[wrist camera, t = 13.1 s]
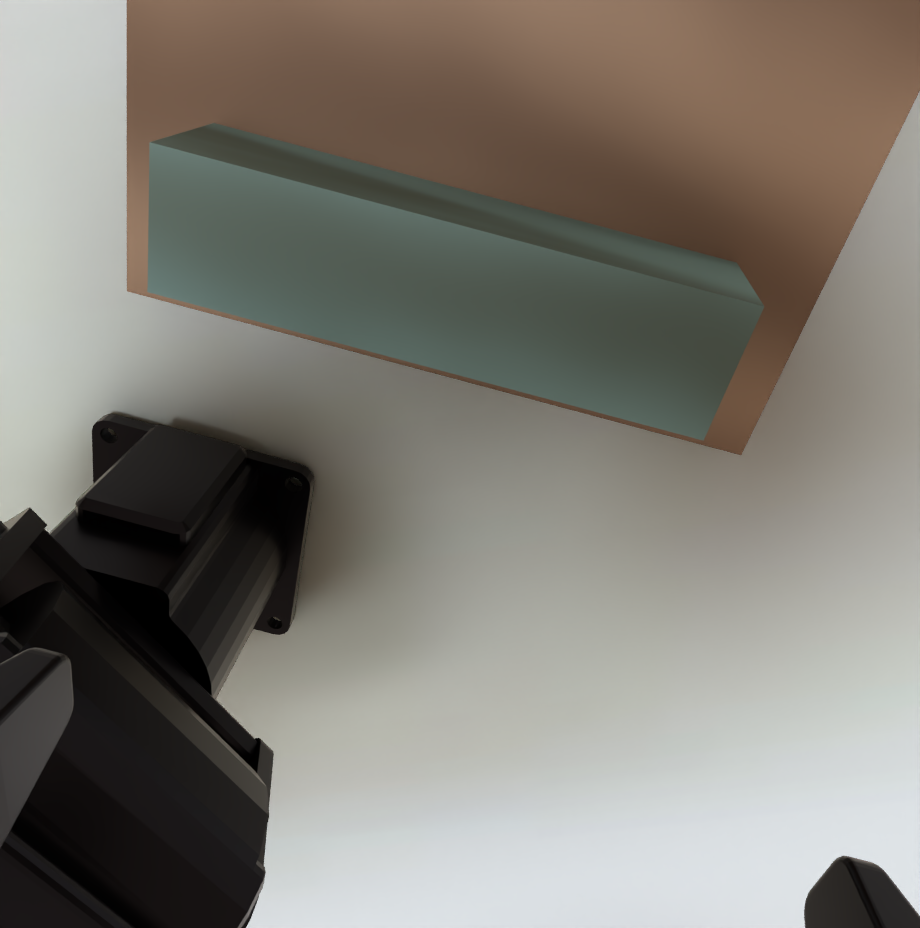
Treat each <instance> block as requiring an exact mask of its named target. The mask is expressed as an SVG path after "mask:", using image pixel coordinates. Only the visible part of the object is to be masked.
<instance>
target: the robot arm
mask: <svg viewBox="0 0 920 928" xmlns="http://www.w3.org/2000/svg"><path fill="white" fill-rule="evenodd" d="M108 428H110V429H112V430H113V431H114V432H115V433H116V434H117V437H115V436H113V435H112V434H111V433H110V432H109V431H108ZM92 447H93V482H94V484H93V485H92V486H91V487H90V488H89V489H88V490H87V491H86V492H85V493H84V494H83V495H82V496H81V497H80V498H79V499H78V500H77V502H76V508H75V509H74V510H72V511H71V512H70V513H69V514H68V515H67V516H66V517H65V518H64V519H63V520H62V521H61V522H60V523H59V524H58V525H57V526H56V527H55V528H54V529H53V530H52V531H51V532H50V533H48V532H47V531H46V530H45V529H44V528H45V527H46V526H47V524H46V523H45V522H44V521H43V520H42V519H41V518H40V517H39V516H38V515H37V514H36V513H35V512H34V511H33V510H32V509H31V508H28V509H26V510H24V511H23V512H21V513H20V514H18V515H16V516H15V517H13V518H12V519H10V520H8V521H7V522H5V523H4V524H3V523H2V522H1V521H0V928H246V926H247V925H248V923H249V921H250V919H251V916H252V914H253V911H254V908H255V906H256V903H257V900H258V897H259V894H260V892H261V890H262V888H263V884H264V878H265V867H264V855H265V843H266V832H267V822H268V818H269V799H270V788H271V777H272V766H273V755H274V754H273V751H272V750H271V749H270V748H269V747H268V746H267V745H266V744H265V743H264V742H263V741H262V740H261V739H260V738H256V739H254V738H253V737H252V736H251V735H250V734H249V733H248V732H247V731H246V730H245V729H244V728H243V727H242V726H241V725H240V724H239V723H238V722H237V721H236V720H235V719H234V718H233V717H232V716H231V715H230V714H229V713H228V712H227V711H226V710H225V709H224V708H223V707H222V706H221V705H220V704H219V703H218V702H217V701H216V700H215V699H216V697H217V695H218V694H219V692H220V690H221V688H222V686H223V684H224V682H225V680H226V678H227V677H228V675H229V673H230V671H231V669H232V667H233V665H234V663H235V662H236V660H237V658H238V656H239V654H240V652H241V650H242V648H243V647H244V645H245V643H246V641H247V639H248V637H249V635H250V633H251V631H252V630H253V629H256V630H260V631H264V632H268V633H271V634H277V635H280V634H284V633H286V632H287V631H288V630H289V628H290V625H291V623H292V621H293V619H294V613H295V606H296V600H297V593H298V587H299V580H300V573H301V567H302V560H303V554H304V547H305V541H306V534H307V528H308V521H309V514H310V508H311V501H312V495H313V488H314V476H313V474H312V472H311V471H310V470H309V469H308V468H307V467H306V466H304V465H301V464H299V463H295V462H291V461H288V460H284V459H280V458H276V457H273V456H269V455H265V454H261V453H258V452H254V451H250V450H246V449H243V448H242V447H240V446H239V445H235V444H232V443H228V442H224V441H220V440H217V439H213V438H209V437H205V436H202V435H198V434H194V433H190V432H187V431H183V430H179V429H175V428H172V427H168V426H164V425H153V424H149V423H145V422H142V421H138V420H134V419H130V418H127V417H123V416H119V415H114V414H108V415H105V416H103V417H102V418H101V419H100V420H99V421H97V422H96V423H95V425H94V426H93V429H92ZM290 478H296V479H298V480H299V481H300V482H301V483H302V485H296V484H294V483H292V482H291V480H290ZM273 617H276V618H278V619H280V620H281V621H278V620H276V619H274V618H273ZM804 918H805V928H920V916H919V914H918V913H917V912H916V911H915V909H914V908H913V907H912V905H911V904H910V903H909V902H908V900H907V899H906V898H905V896H904V895H903V894H902V893H901V891H900V890H899V889H898V888H897V886H896V885H895V884H894V882H893V881H892V880H891V879H890V877H889V876H888V875H887V874H886V872H885V871H884V870H883V869H882V868H880V867H879V866H878V865H876V864H874V863H871V862H868V861H864V860H860V859H856V858H852V857H849V856H842V857H839V858H837V859H836V860H835V861H834V862H833V863H832V864H831V865H830V867H829V868H828V869H827V870H826V872H825V873H824V874H823V875H822V876H821V878H820V879H819V880H818V881H817V883H816V884H815V885H814V886H813V888H812V889H811V890H810V892H809V893H808V896H807V898H806V902H805V909H804Z"/></svg>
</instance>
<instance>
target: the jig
mask: <svg viewBox="0 0 920 928" xmlns="http://www.w3.org/2000/svg"><path fill="white" fill-rule="evenodd" d="M919 91H920V0H127V291H128V292H132V293H136V294H140V295H143V296H147V297H151V298H155V299H158V300H162V301H166V302H170V303H173V304H177V305H181V306H185V307H188V308H192V309H196V310H200V311H203V312H207V313H211V314H215V315H218V316H222V317H226V318H230V319H233V320H237V321H241V322H244V323H248V324H252V325H256V326H259V327H263V328H267V329H271V330H274V331H278V332H282V333H286V334H289V335H293V336H297V337H301V338H304V339H308V340H312V341H316V342H319V343H323V344H327V345H331V346H334V347H338V348H342V349H346V350H349V351H353V352H357V353H361V354H364V355H368V356H372V357H376V358H379V359H383V360H387V361H390V362H394V363H398V364H402V365H405V366H409V367H413V368H417V369H420V370H424V371H428V372H432V373H435V374H439V375H443V376H447V377H450V378H454V379H458V380H462V381H465V382H469V383H473V384H477V385H480V386H484V387H488V388H492V389H495V390H499V391H503V392H507V393H510V394H514V395H518V396H522V397H525V398H529V399H533V400H536V401H540V402H544V403H548V404H551V405H555V406H559V407H563V408H566V409H570V410H574V411H578V412H581V413H585V414H589V415H593V416H596V417H600V418H604V419H608V420H611V421H615V422H619V423H623V424H626V425H630V426H634V427H638V428H641V429H645V430H649V431H653V432H656V433H660V434H664V435H667V436H671V437H675V438H679V439H682V440H686V441H690V442H694V443H697V444H701V445H705V446H709V447H712V448H716V449H720V450H724V451H727V452H731V453H735V454H739V455H741V454H742V452H743V450H744V448H745V446H746V444H747V442H748V440H749V438H750V436H751V434H752V432H753V430H754V428H755V426H756V423H757V421H758V419H759V417H760V415H761V413H762V411H763V409H764V407H765V405H766V403H767V401H768V399H769V397H770V395H771V393H772V391H773V389H774V387H775V385H776V383H777V381H778V379H779V377H780V375H781V372H782V370H783V368H784V366H785V364H786V362H787V360H788V358H789V356H790V354H791V352H792V350H793V348H794V346H795V344H796V342H797V340H798V338H799V336H800V334H801V332H802V330H803V328H804V326H805V324H806V321H807V319H808V317H809V315H810V313H811V311H812V309H813V307H814V305H815V303H816V301H817V299H818V297H819V295H820V293H821V291H822V289H823V287H824V285H825V283H826V281H827V279H828V277H829V275H830V273H831V270H832V268H833V266H834V264H835V262H836V260H837V258H838V256H839V254H840V252H841V250H842V248H843V246H844V244H845V242H846V240H847V238H848V236H849V234H850V232H851V230H852V228H853V226H854V224H855V222H856V219H857V217H858V215H859V213H860V211H861V209H862V207H863V205H864V203H865V201H866V199H867V197H868V195H869V193H870V191H871V189H872V187H873V185H874V183H875V181H876V179H877V177H878V175H879V173H880V171H881V168H882V166H883V164H884V162H885V160H886V158H887V156H888V154H889V152H890V150H891V148H892V146H893V144H894V142H895V140H896V138H897V136H898V134H899V132H900V130H901V128H902V126H903V124H904V122H905V120H906V117H907V115H908V113H909V111H910V109H911V107H912V105H913V103H914V101H915V99H916V97H917V95H918V93H919Z"/></svg>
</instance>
